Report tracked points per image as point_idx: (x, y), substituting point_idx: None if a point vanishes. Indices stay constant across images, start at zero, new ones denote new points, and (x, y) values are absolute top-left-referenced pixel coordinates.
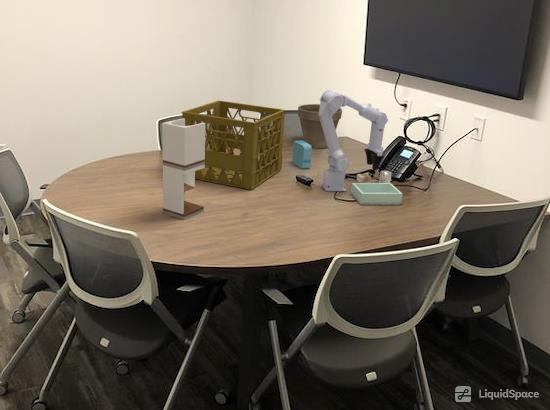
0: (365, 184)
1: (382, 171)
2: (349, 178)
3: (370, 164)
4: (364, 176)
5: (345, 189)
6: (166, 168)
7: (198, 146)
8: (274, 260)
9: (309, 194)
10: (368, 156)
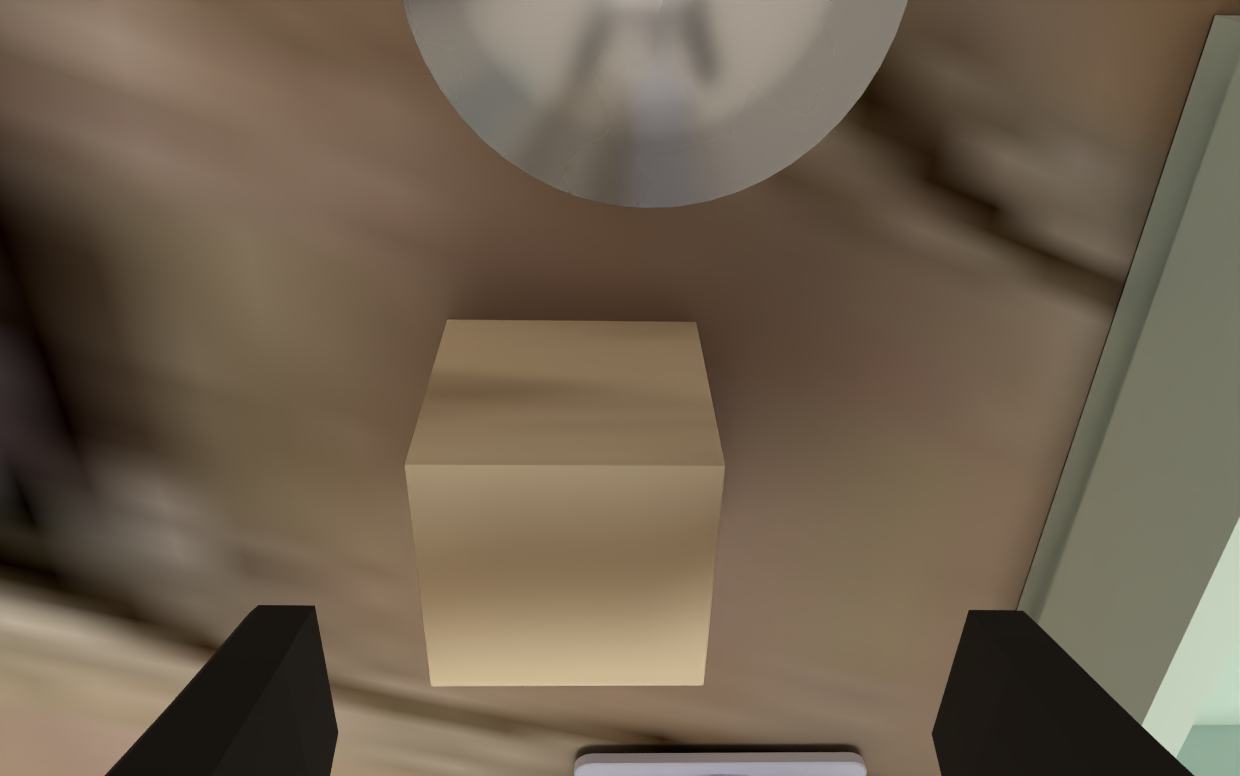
0: (1184, 714)
1: (563, 107)
2: (102, 536)
3: (317, 654)
4: (635, 597)
5: (829, 769)
6: None
7: None
8: None
9: None
10: None
